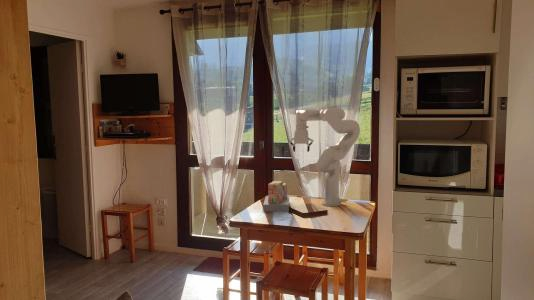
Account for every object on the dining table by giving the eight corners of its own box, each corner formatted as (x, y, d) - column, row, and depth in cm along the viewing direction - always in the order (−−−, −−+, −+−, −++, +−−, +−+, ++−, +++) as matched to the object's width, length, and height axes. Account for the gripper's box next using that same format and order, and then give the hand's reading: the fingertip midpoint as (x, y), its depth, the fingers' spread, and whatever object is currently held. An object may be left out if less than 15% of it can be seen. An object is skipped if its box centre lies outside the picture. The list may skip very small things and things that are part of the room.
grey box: (289, 203, 293) (289, 196, 292) (288, 212, 267) (288, 204, 267) (265, 203, 294) (265, 196, 293) (263, 212, 268) (263, 204, 268)
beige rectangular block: (278, 196, 293) (278, 178, 291) (287, 196, 291) (287, 178, 289) (268, 202, 273) (267, 183, 271) (277, 203, 270) (277, 184, 269)
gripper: (313, 127, 305) (313, 151, 307) (289, 127, 308) (289, 151, 310) (313, 128, 298) (313, 152, 299) (288, 128, 301) (288, 152, 302)
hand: (301, 151), depth 304 cm, fingers open, 9 cm apart
